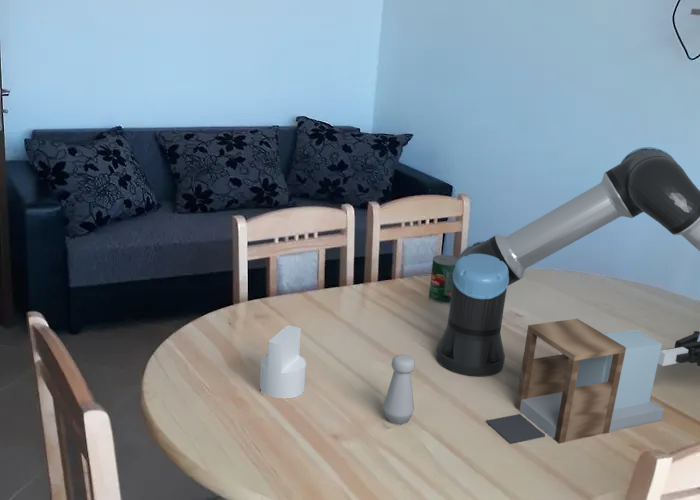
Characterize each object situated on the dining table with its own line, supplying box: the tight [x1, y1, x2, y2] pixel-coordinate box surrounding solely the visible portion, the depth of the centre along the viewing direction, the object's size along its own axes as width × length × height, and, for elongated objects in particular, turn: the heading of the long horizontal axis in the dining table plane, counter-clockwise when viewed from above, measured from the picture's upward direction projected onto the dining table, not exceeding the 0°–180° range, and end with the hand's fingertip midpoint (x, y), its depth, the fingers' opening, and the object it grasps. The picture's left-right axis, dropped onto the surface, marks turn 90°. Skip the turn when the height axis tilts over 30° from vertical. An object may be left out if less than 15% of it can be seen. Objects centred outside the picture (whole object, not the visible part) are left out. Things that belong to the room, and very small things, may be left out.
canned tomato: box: [428, 254, 459, 305], centre depth 207 cm, size 8×8×11 cm
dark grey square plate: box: [485, 413, 546, 445], centre depth 147 cm, size 8×8×1 cm
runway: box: [519, 392, 665, 440], centre depth 155 cm, size 26×13×2 cm, turn 115°
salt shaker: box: [382, 353, 416, 426], centre depth 146 cm, size 6×6×13 cm
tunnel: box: [514, 318, 626, 444], centre depth 149 cm, size 12×14×18 cm
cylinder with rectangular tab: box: [259, 325, 307, 399], centre depth 154 cm, size 9×9×12 cm
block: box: [575, 328, 663, 409], centre depth 154 cm, size 14×7×13 cm, turn 115°
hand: (661, 358), depth 159 cm, fingers closed
